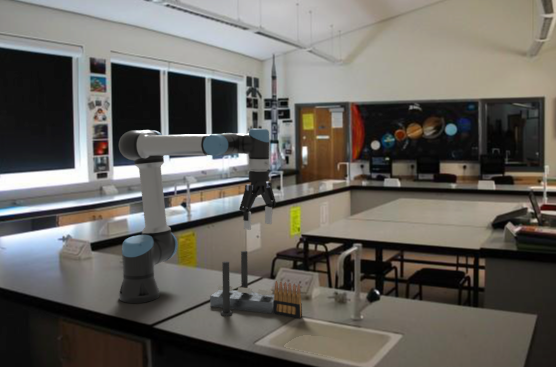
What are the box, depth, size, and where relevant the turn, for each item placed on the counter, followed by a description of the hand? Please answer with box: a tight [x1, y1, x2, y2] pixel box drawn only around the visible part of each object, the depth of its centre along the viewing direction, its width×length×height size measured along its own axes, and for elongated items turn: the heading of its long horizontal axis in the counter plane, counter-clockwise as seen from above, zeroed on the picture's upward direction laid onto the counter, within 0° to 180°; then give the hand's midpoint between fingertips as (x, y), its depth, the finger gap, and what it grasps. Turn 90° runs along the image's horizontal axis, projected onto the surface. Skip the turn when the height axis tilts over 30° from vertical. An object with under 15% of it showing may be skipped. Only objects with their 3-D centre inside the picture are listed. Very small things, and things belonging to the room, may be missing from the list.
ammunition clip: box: [272, 280, 303, 320], centre depth 189 cm, size 11×2×12 cm, turn 62°
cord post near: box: [220, 260, 233, 317], centre depth 190 cm, size 4×4×19 cm
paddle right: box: [257, 288, 273, 296], centre depth 196 cm, size 4×5×2 cm
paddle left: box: [217, 284, 233, 291], centre depth 202 cm, size 4×5×2 cm
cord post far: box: [240, 250, 249, 288], centre depth 206 cm, size 4×4×19 cm
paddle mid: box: [237, 286, 253, 293], centre depth 199 cm, size 4×5×2 cm
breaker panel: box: [209, 289, 274, 315], centre depth 199 cm, size 24×9×4 cm, turn 71°
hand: (258, 226), depth 204 cm, fingers open, 13 cm apart
